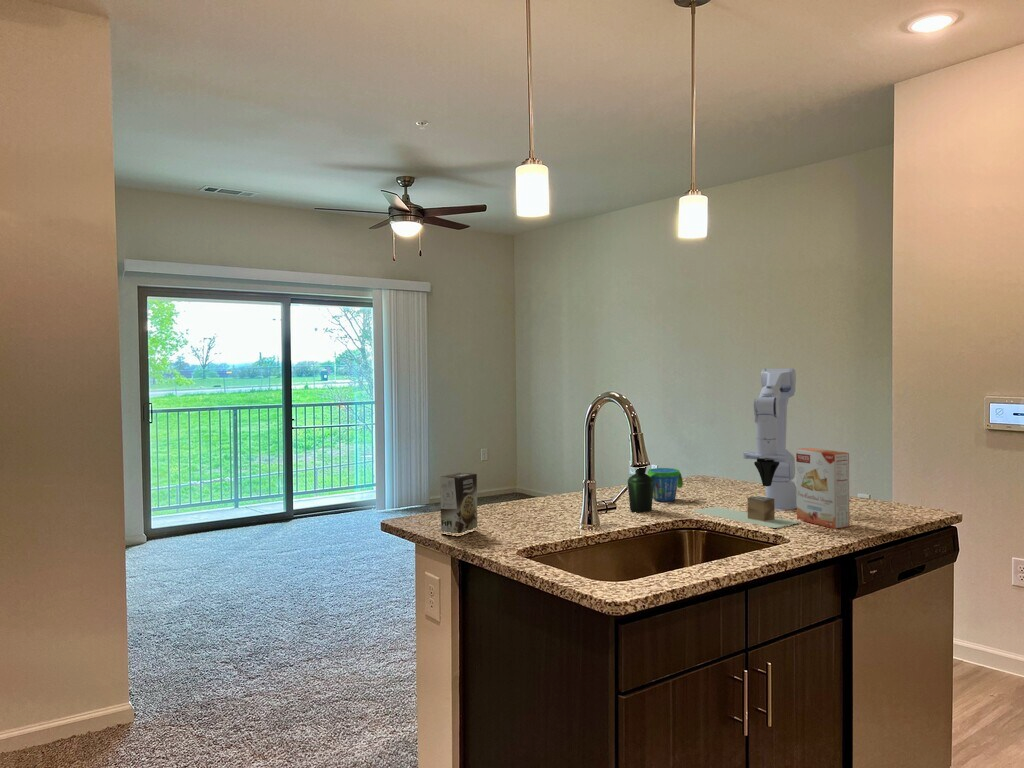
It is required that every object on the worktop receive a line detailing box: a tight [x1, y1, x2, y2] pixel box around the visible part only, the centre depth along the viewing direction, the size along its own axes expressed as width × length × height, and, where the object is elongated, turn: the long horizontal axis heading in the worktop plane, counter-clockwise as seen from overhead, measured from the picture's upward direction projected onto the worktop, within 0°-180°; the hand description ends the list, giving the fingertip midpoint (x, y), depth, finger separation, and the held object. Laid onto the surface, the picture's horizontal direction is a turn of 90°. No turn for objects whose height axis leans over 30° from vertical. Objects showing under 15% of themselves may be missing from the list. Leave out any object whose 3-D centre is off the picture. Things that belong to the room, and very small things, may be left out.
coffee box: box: [440, 472, 478, 533], centre depth 200 cm, size 9×6×16 cm
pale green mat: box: [689, 506, 802, 529], centre depth 215 cm, size 12×30×1 cm, turn 35°
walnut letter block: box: [747, 495, 776, 522], centre depth 211 cm, size 5×6×6 cm
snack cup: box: [647, 467, 684, 502], centre depth 245 cm, size 16×10×10 cm
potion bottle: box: [627, 462, 654, 514], centre depth 226 cm, size 8×8×18 cm
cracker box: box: [795, 447, 850, 530], centre depth 205 cm, size 14×6×21 cm, turn 23°
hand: (766, 485), depth 209 cm, fingers closed
